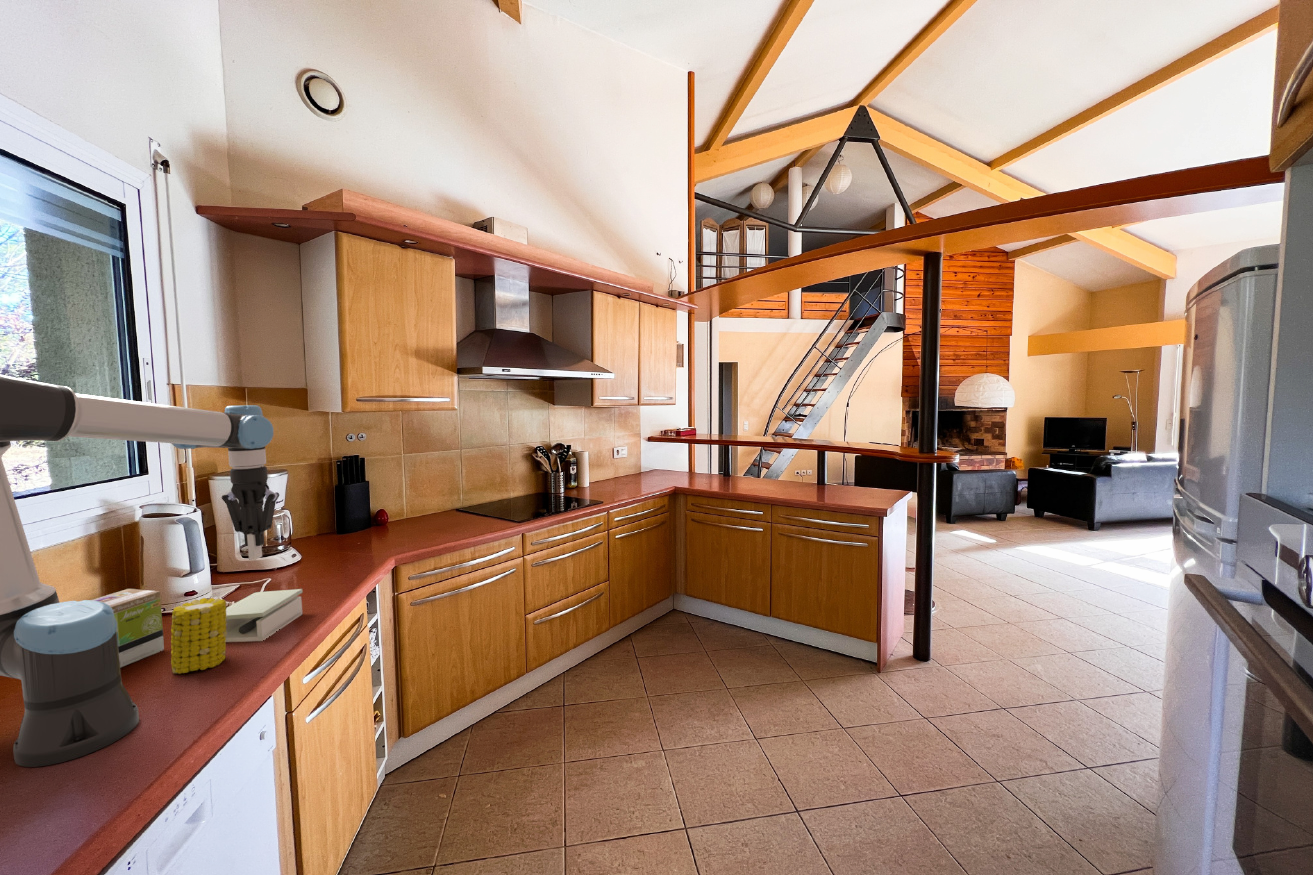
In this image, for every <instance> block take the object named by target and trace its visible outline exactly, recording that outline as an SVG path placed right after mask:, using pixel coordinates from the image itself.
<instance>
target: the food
mask: <svg viewBox="0 0 1313 875" xmlns="http://www.w3.org/2000/svg"><path fill="white" fill-rule="evenodd" d="M226 603H227V601H226V600H225V599H223V598H222V599H221V598H220V597H218V598H216V599H215V598H213V597H212V598H206V597H203V598H200V599H193V600H192V601H191V602H185V603H182V605H178V606H175V607H174V608H173V610H172V611H171V614H172V615H171V625H170V628H171V629H170V633H171V636H170V637H171V640H170V643H171V646H170V649H171V651H170V654H171V658H170V659H171V660H170V664H171V670H172V671H171V672H172V674H179V675H180V674H185V673H186V674H187V673H190V672H194V671H198V670H201V671H204V670H207V669H208V668H210V669H211V668H215V667H216V666H219V665H220V664H221V663H222V662H223V661H225V659H226V650H227V647H226V646H227V644H226V643H227V642H225V640H226V636H225V635H227V632H226V618H227V617H226V609H227V606H226V605H227V604H226Z"/></svg>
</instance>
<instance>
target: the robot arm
mask: <svg viewBox="0 0 1313 875" xmlns="http://www.w3.org/2000/svg"><path fill="white" fill-rule="evenodd" d="M274 430H275V429H274V426H273V423H272V422H271V421H270V420H269V419H268V418H267V417H265V416H264V414H263V410H262V408H261V406H259V405H258V404H257V405H255V404H251V405H250V404H249V405H227V406H226V407H225V408H224V412H222V411H215V410H207V409H201V408H190V407H184V406H175V405H169V404H168V405H167V404H160V403H153V402H152V403H151V402H143V401H136V400H128V399H120V398H114V397H113V398H112V397H105V396H98V395H90V394H81V393H75V392H74V390H73V389H72V388H70V387H68V386H66V385H65V386H64V385H58V384H51V383H45V382H40V381H35V380H28V379H24V378H18V377H14V376H10V375H9V376H8V375H4V374H0V676H1V677H6V678H7V677H8V678H10V679H17V680H20V681H21V689H22V697H23V698H22V699H23V704H24V713H23V717H22V719H21V723H20V728H19V732H18V737H17V738H16V740H14V744H13V746H12V747H13V749H12V752H13V758H14V760H13V761H14V763H15V764H16V765H18V766H20V767H26V768H27V767H28V768H34V767H36V768H37V767H45V766H50V765H51V766H52V765H56V764H61V763H65V762H67V761H71V760H75V759H78V758H80V757H83V756H86V755H88V754H91V753H93V752H94V753H95V752H96V751H99V750H101V749H103V748H105V747H108V746H110V745H111V744H114V743H115V742H117V741H119V740H120V739H121V738H124V737H125V736H126V735H128V734H129V733H130V732H131V731H133V730H135V728H136V727H137V725H138V724H139V722H140V716H139V715H140V714H139V708H138V705H137V704H136V703H135V702H133V699H132V697H131V695H130V694H129V692H128V691H127V688H126V686H124V684H123V682H122V681H123V680H122V673H121V668H120V661H119V651H118V640H117V622H116V619H115V617H114V612H113V609H112V608H111V607H110V606H109V605H108V604H106V603H103V602H100V601H94V600H93V599H90V600H89V599H83V600H80V601H79V600H78V601H77V600H68V601H62V602H60V599H59V595H58V593H57V589H56V587H55V586H53V585H49V584H46V583H43V582H41V581H40V577H39V574H38V571H37V568H36V565H35V562H34V558H33V555H32V553H31V552H32V551H31V549H30V546H29V542H28V540H27V535H26V533H25V528H24V526H23V524H22V523H23V522H22V520H21V516H20V513H19V511H18V510H19V509H18V507H17V503H16V500H15V498H14V494H13V491H12V488H11V485H10V482H9V479H8V475H7V471H6V468H5V465H4V461H3V459H2V457H3V455H4V454H5V453H6V452H7V451H8V450H9V449H11V447H12V445H11V444H12V443H11V442H22V441H23V442H24V441H25V442H26V441H42V442H43V441H45V442H60V441H63V440H65V439H67V437H73V438H85V439H86V438H88V439H89V438H90V439H100V440H101V439H103V440H116V441H118V440H119V441H131V442H132V441H133V442H148V443H162V444H164V443H165V444H171V445H172V446H173V447H174V448H177V449H179V450H187V449H189V450H190V449H191V450H195V449H200V448H211V449H212V448H213V449H214V448H215V449H216V448H218V449H221V448H222V449H227V451H228V466H229V467H230V470H229V477H230V483H231V484H232V486H231V488H230V491H229V492H228V493H226V494H223V495H222V496H221V500H222V501H223V502H224V503H225V505H226V508H227V511H228V513H229V516H230V519H231V522H232V525H233V529H234V531H235V532H236V533H238V532H239V533H242V534H243V536H244V537H243V539H244V545H245V547H247V549H248V550H247V551H248V552H247V553H248V560H249V561H255V560H258V559H260V558H261V557H262V558H263V548H262V545H263V546H264V544H265V536H264V533H265V531H267V530H270V529H271V528H272V527H273V526H272V525H273V520H274V519H273V518H274V514H275V508H276V503H277V500H278V499H279V497H280V492H274V491H273V490H270V487H269V485H268V483H267V482H268V479H269V477H268V467H267V466H266V464H267V454H266V446H268V445H269V444H270V443H271V441H272V439H273V438H274ZM264 500H265V501H264ZM263 505H264V506H263Z"/></svg>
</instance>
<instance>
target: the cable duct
mask: <svg viewBox="0 0 1313 875" xmlns="http://www.w3.org/2000/svg"><path fill="white" fill-rule="evenodd" d="M302 615H303V602H302V596H299V595H298V596H296V597H294V598H293V599H291V600H290V601H288V602H286V603H285V604H283V605H281V606H280V607H278V608H277V609H276V610H274V611H272V612H271V613H269V614H267V615H266V616H264V617H263V618H261V619H259V620H258V621H256V624H257V627H255V628H253V629H252V630H250V631H249V632H247V633H245V634H241V633H240V632H239V628H240V627H241V626H243V625H245V624H246V623H248V622H250V621H251V620H253V619H255V618H256V617H254V618H240V619H227V620H226V632H227V635H225V636H226V640H225V643H238V642H239V643H240V642H241V643H243V642H244V643H245V642H246V643H247V642H264V641H265V640H266V638H267V639H268V638H269V636H270V637H271V636H272V635H274V634H275V633H277V632H278V631H280V630H282V629H283V628H285V627H286V626H287V625H288V624H290V623H292V622H293V621H294V620H296V619H298V618H299V617H301V616H302ZM279 629H280V630H279ZM276 631H277V632H276ZM263 640H264V641H263Z"/></svg>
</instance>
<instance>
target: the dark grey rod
mask: <svg viewBox="0 0 1313 875" xmlns="http://www.w3.org/2000/svg"><path fill="white" fill-rule="evenodd" d="M275 610H276V609H275ZM273 611H274V610H273ZM270 613H271V612H270ZM268 614H269V613H268ZM265 616H266V615H265ZM261 618H263V617H256V618H255V619H253V620H251V621H250V622H248V623H246V624H245V625H243V626H241V627H240V628H239V632H240V633H241V634H245V633H247V632H249V631H250V630H252V629H253V628H255V627H257V624H256V621H258V620H259V619H261Z"/></svg>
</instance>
